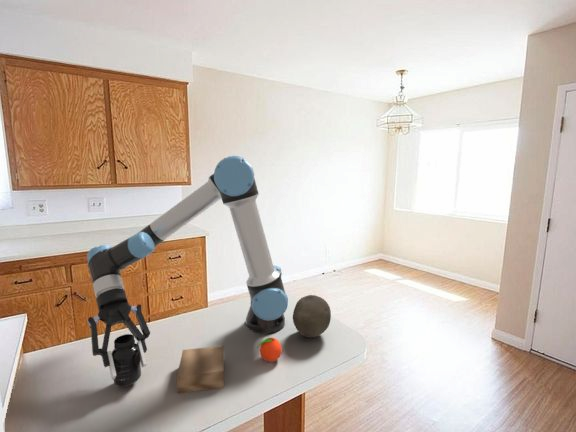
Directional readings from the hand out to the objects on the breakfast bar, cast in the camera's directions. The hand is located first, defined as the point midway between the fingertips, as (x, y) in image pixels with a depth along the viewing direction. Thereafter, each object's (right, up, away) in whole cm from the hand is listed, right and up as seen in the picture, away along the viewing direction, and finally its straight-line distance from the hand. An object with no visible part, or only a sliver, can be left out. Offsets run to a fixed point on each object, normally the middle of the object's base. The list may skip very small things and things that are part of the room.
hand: (129, 371), depth 80 cm
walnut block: (+17, -5, +8) cm, 19 cm away
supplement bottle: (-2, -4, +3) cm, 6 cm away
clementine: (+36, -5, +16) cm, 39 cm away
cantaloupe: (+50, -3, +30) cm, 58 cm away
